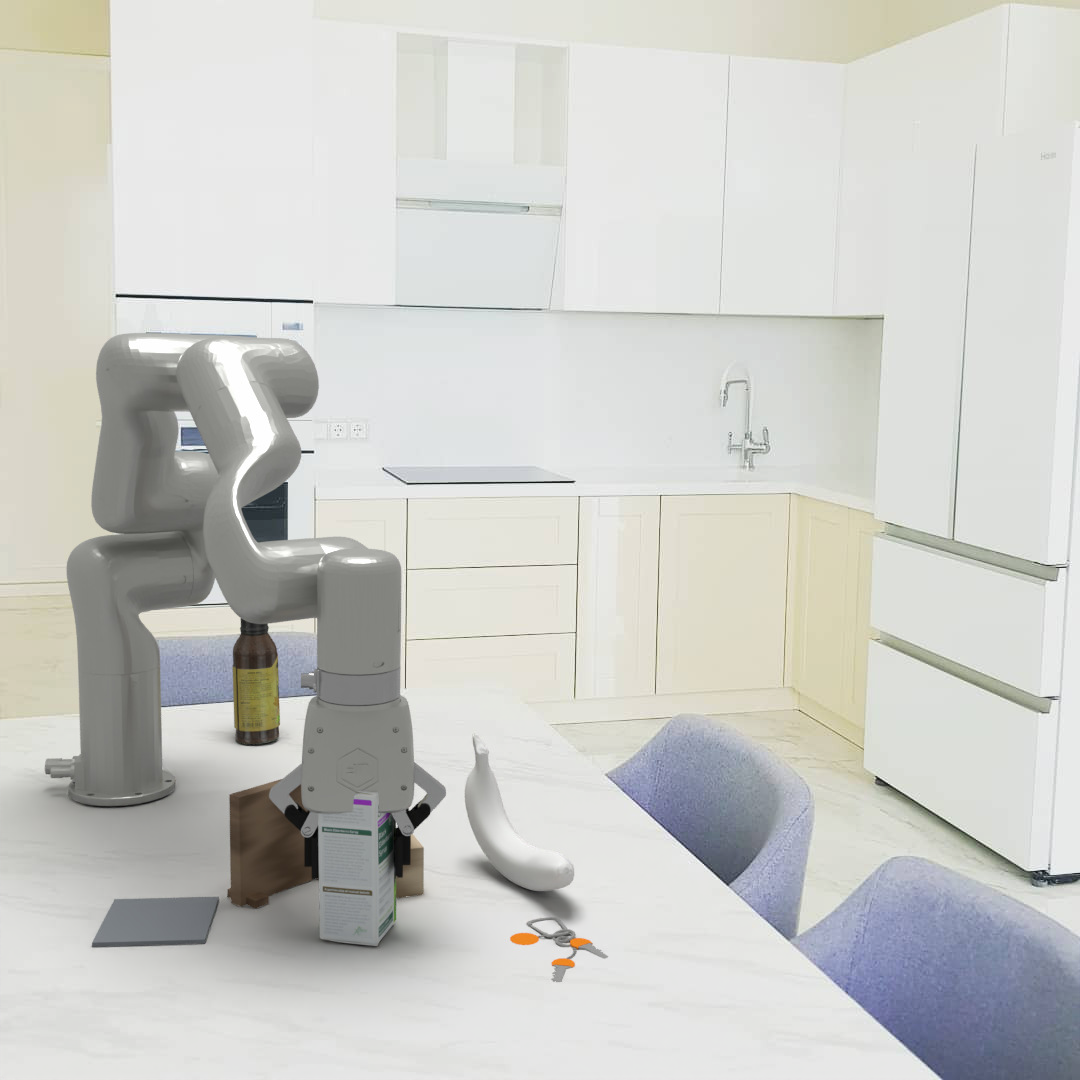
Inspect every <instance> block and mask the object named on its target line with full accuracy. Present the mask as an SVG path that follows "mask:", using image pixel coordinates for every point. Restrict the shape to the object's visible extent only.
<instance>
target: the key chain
mask: <svg viewBox="0 0 1080 1080" xmlns="http://www.w3.org/2000/svg"><path fill="white" fill-rule="evenodd" d="M551 920H553V921H555V922H557V924H558V925H559V926H560V927H561V929H559V930H556V931H554V932H553V933H548V932H544V931H542V930H541V929H539V928H537V927H535V926H534V925H533V924H534V923H537V922H543V921H551ZM526 925H527V926H528V927H530V928H532V929H534V930H535V931H537V932H538V933H540V934H542V935H536V934H535V933H534V934H533V933H531V932H519V933H514V934H512V935H511V936H510V937H509V940H510V942H511V943H512V944H515V945H518V946H519V945H520V946H531V945H534V944H536V943H538V942H539V941H540V938H549V939H550V938H551V940H552V941H553V942H555V944H556V945H558V947H563V948H571V949H572V951H573V952H572V954H570V956H567V957H566V958H564V957H563V958H556V959H553V961H552V962H551V966H552V967H554V968H553V969H554V972H552V978H551V981H552V982H555V981H556V982H555V983H561V982H563V979H564V977H565V976H564V975H565V973H566V970H569V969H573V968H574V967H575V966H576V963H575V961H573V960H572V959H573V958H574V957H575V956H576V954H577V951H578V950H585V951H587V952H589V953H590V954H593V955H595V956H597V957H599V958H602V959H608V957H609V955H607V954H605V953H604V951H603V950H601V949H598V948H596V946H594V945H593V942H592V941H591V940H590V939H587V938H584V937H583V938H582V937H576V935H577V934H576V932H575V931H574V930H573V929H570V928H569V929H568V927H567V926H566V925H565V923H564V922H563V921H562V920H561V919H560V918H559V917H557V916H548V917H540V918H534V919H531V920H528V921H527V922H526ZM570 934H571V936H568V935H570ZM575 937H576V938H575ZM567 943H569V944H567Z"/></svg>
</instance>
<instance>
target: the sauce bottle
mask: <svg viewBox="0 0 1080 1080" xmlns="http://www.w3.org/2000/svg"><path fill="white" fill-rule="evenodd" d="M239 630H240V635H239V636H238V638H237V639H236V641H235V643H234V644H233V648H232V662H233V663H232V687H233V688H232V689H233V690H232V693H233V696H232V697H233V724H234V725H233V727H234V729H235V735H234V736H235V737H234V738H235V741H236V742H237V743H239V744H241V743H242V745H247V744H253V745H254V746H255V744H256V745H261V744H267V743H272V742H274V741H276V740H278V739H279V736H280V725H281V716H280V715H281V713H280V710H281V709H280V683H279V681H280V680H279V678H280V677H279V654H278V649H277V645H276V643H275V642H274V640H273V638H272V637H271V635H270V633H269V624H255V623H250V622H247V621H245V620H243V619H242V618H240V628H239Z"/></svg>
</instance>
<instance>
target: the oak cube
mask: <svg viewBox="0 0 1080 1080" xmlns="http://www.w3.org/2000/svg"><path fill="white" fill-rule="evenodd" d="M424 849H425V848H424V846H423V844H422V843H421V842H420V841H419V840H418V838H417V837H416V836H415V835H414V833H413V834H412V835H411V862H410V865H403V878H397V876H396V899H400V898H401V897H402V898H407V897H406V896H410V897H415V896H414V895H417V896H423V895H422V894H424V891H425V889H424V881H425V880H424V877H425V876H424V875H425V873H424V871H425V870H424V869H425V868H424V867H425V865H424V864H425V862H424V861H425V860H424V859H425V857H424V855H425V853H424V851H425V850H424ZM398 897H400V898H398Z"/></svg>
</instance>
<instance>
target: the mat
mask: <svg viewBox="0 0 1080 1080" xmlns="http://www.w3.org/2000/svg"><path fill="white" fill-rule="evenodd" d="M219 902H220V896H192V897H191V896H187V897H186V896H184V897H180V896H179V897H148V898H147V897H145V898H144V897H143V898H140V897H139V898H114V899H113V902H112V903H111V905H110V907H109V908H108V911H107V913H106V915H105V917H104V918H103V921H102V922H101V925H100V926H99V929H98V930H97V931H96V934H95V936H94V938H93V940H92V942H91V947H92V948H99V947H101V948H102V947H133V946H161V945H162V946H164V945H165V946H167V945H168V946H169V945H171V946H172V945H198V944H199V945H200V944H201V945H202V944H203V945H204V943H205V944H206V942H207V939H208V935H209V933H210V929H211V927H212V923H213V920H214V917H215V915H216V912H217V908H218V905H219Z"/></svg>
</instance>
